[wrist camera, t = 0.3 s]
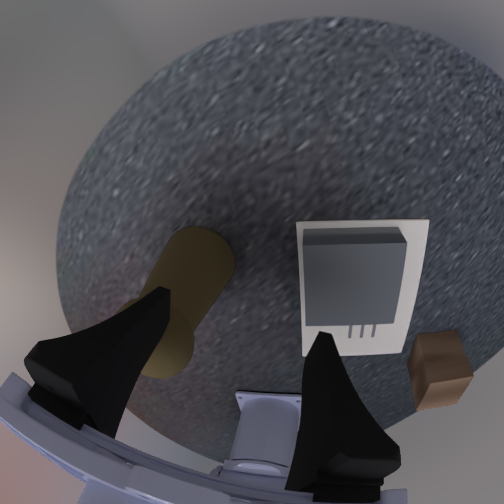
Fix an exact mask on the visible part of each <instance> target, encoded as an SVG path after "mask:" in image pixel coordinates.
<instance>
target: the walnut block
mask: <svg viewBox="0 0 504 504" xmlns="http://www.w3.org/2000/svg"><path fill="white" fill-rule="evenodd" d="M407 366H408V370H409V375H410V380H411V385H412V390H413V395H414V401H415V406H416V411H417V410H424V409H430V408H436V407H442V406H448V405H452V404H456V403H457V402H458V400H459V399H460V397H461V396H462V394H463V393H464V391H465V389H466V388H467V386H468V385H469V383H470V382H471V380H472V378H473V377H474V375H473V372H472V369H471V367H470V364H469V361H468V359H467V356H466V353H465V351H464V348H463V346H462V343H461V341H460V338H459V336H458V334H457V331H456V330H453V331H444V332H435V333H425V334H417V336H416V339H415V342H414V346H413V349H412V352H411V354H410V357H409V360H408V363H407Z"/></svg>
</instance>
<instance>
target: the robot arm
mask: <svg viewBox="0 0 504 504" xmlns="http://www.w3.org/2000/svg"><path fill="white" fill-rule="evenodd" d="M170 299H171V290H170V289H167V288H164V287H161V286H158V287H157V288H155V289H154V290H152V291H151V292H150V293H148V294H147V295H145V296H144V297H143V298H141V299H140V300H138V301H137V302H135V303H134V304H132V305H131V306H129V307H128V308H126V309H124V310H123V311H121V312H119V313H118V314H116V315H114V316H113V317H111V318H109V319H107V320H105V321H103V322H101V323H99V324H97V325H95V326H92V327H90V328H87V329H84V330H82V331H79V332H76V333H73V334H70V335H67V336H63V337H59V338H54V339H49V340H43V341H39V342H38V343H37V344H36V345H35V346H34V347H33V349H32V350H31V351H30V352H29V354H28V355H27V356H26V357H25V359H24V364H25V366H26V369H27V370H28V372H29V374H30V375H31V377H32V379H33V380H34V382H35V384H34V385H33V387H31V386H30V385H29V384H28V383H27V382H26V381H25V380H23V379H22V378H20V377H19V376H18V375H17V374H15V373H14V372H12V373H11V374H10V376H9V377H8V378H7V379H6V381H5V382H4V383H3V385H2V386H1V387H0V420H1V421H2V422H3V423H4V424H5V425H6V426H7V427H8V428H9V429H10V430H11V431H12V432H13V433H14V434H16V435H17V436H18V437H19V438H21V439H22V440H23V441H24V442H26V443H27V444H28V445H30V446H31V447H32V448H34V449H35V450H37V451H38V452H39V453H40V454H42V455H43V456H45V457H46V458H48V459H49V460H50V461H52V462H53V463H55V464H56V465H58V466H59V467H61V468H62V469H64V470H65V471H67V472H69V473H70V474H72V475H74V476H75V477H77V478H78V479H80V480H82V481H83V482H85V483H87V484H86V486H85V488H84V490H83V492H82V494H81V497H80V499H79V501H78V503H77V504H408V503H407V489H393V490H384V491H380V486H382V485H383V484H384V477H386V476H388V475H389V474H391V473H393V472H395V471H396V470H397V469H398V468H399V467H400V466H401V455H400V448H399V446H398V445H397V444H396V443H395V442H394V441H393V440H392V439H391V438H390V437H389V436H388V435H387V434H386V433H385V432H384V430H383V429H382V428H381V427H380V426H379V425H378V423H377V422H376V421H375V420H374V418H373V417H372V416H371V414H370V413H369V411H368V410H367V409H366V407H365V406H364V404H363V403H362V401H361V399H360V398H359V396H358V394H357V392H356V390H355V389H354V387H353V385H352V383H351V380H350V378H349V376H348V374H347V372H346V369H345V367H344V365H343V362H342V360H341V357H340V355H339V352H338V349H337V347H336V344H335V341H334V338H333V336H332V334H331V333H327V332H322V331H319V332H318V335H317V336H316V338H315V340H314V342H313V344H312V346H311V348H310V350H309V352H308V354H307V356H306V358H305V364H304V370H303V377H302V395H298V394H272V393H256V392H244V391H237V392H236V394H235V395H236V398H237V401H238V405H239V408H240V411H241V416H240V420H239V424H238V427H237V431H236V435H235V439H234V443H233V447H232V450H231V454H230V458H229V460H225V462H224V465H223V466H217V467H216V468H215V469H213V470H212V471H211V472H210V474H205V473H202V472H199V471H195V470H192V469H189V468H186V467H183V466H180V465H177V464H174V463H171V462H168V461H165V460H162V459H160V458H157V457H155V456H152V455H150V454H147V453H145V452H142V451H140V450H137V449H135V448H133V447H130V446H128V445H126V444H124V443H121V442H119V441H117V440H115V436H116V432H117V429H118V426H119V423H120V420H121V418H122V415H123V412H124V410H125V407H126V404H127V402H128V400H129V397H130V395H131V392H132V390H133V388H134V386H135V383H136V381H137V379H138V377H139V375H140V373H141V371H142V369H143V368H144V366H145V364H146V363H147V361H148V360H149V358H150V356H151V355H152V353H153V351H154V350H155V348H156V347H157V345H158V343H159V342H160V340H161V338H162V337H163V334H164V332H165V330H166V328H167V326H168V323H169V321H170ZM297 431H298V436H297ZM296 439H297V441H296ZM127 463H130V464H131V465H129V464H127ZM132 465H134V466H132Z"/></svg>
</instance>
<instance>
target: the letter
mask: <svg viewBox="0 0 504 504" xmlns="http://www.w3.org/2000/svg"><path fill="white" fill-rule="evenodd" d="M428 226H429V219H378V220H331V221H299V222H296V228H297V243H298V259H299V276H300V297H301V321H302V356H307V354H308V352H309V350H310V348H311V346H312V344H313V342H314V340H315V338H316V336H317V335H318V332H319V331H322V332H327V333H331V334H332V336H333V338H334V341H335V344H336V347H337V349H338V352H339V355H340V356H354V355H375V354H391V353H401V352H402V348H403V345H404V342H405V338H406V335H407V331H408V328H409V324H410V320H411V316H412V312H413V308H414V304H415V300H416V295H417V291H418V286H419V281H420V276H421V271H422V266H423V260H424V254H425V248H426V241H427V234H428ZM357 227H399V229H400V231H401V232H402V234H403V236H404V238H405V239H406V241H407V251H406V258H405V265H404V271H403V278H402V284H401V289H400V295H399V300H398V305H397V310H396V315H395V320H394V323H393V324H374V325H348V326H306V323H305V291H304V268H303V249H302V243H303V229H319V228H357Z"/></svg>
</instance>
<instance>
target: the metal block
mask: <svg viewBox="0 0 504 504" xmlns="http://www.w3.org/2000/svg"><path fill="white" fill-rule="evenodd" d="M302 249H303V268H304V291H305V323H306V326H348V325H374V324H393V323H394V320H395V315H396V310H397V305H398V300H399V295H400V289H401V284H402V278H403V271H404V265H405V258H406V251H407V241H406V239H405V238H404V236H403V234H402V232H401V231H400V229H399V227H357V228H319V229H303V243H302Z"/></svg>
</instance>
